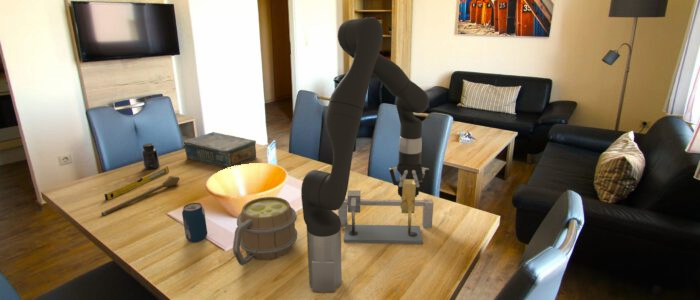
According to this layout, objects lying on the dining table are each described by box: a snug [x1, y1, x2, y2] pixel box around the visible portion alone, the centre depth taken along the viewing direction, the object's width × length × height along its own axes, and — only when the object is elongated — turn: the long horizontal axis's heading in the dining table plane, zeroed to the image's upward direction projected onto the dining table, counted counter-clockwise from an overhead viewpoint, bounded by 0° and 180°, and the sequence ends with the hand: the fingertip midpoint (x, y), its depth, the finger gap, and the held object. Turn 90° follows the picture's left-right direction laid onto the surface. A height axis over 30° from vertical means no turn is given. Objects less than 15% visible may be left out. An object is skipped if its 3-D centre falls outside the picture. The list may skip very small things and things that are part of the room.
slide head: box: [400, 178, 416, 234], centre depth 140 cm, size 11×4×15 cm, turn 177°
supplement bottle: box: [141, 142, 160, 171], centre depth 200 cm, size 7×7×12 cm
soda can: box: [181, 202, 208, 244], centre depth 137 cm, size 7×7×12 cm
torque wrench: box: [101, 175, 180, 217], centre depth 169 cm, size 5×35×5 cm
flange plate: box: [343, 224, 424, 245], centre depth 140 cm, size 10×26×1 cm, turn 87°
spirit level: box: [104, 166, 169, 201], centre depth 182 cm, size 33×1×3 cm, turn 159°
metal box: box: [183, 131, 257, 169], centre depth 214 cm, size 21×32×10 cm, turn 59°
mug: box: [232, 196, 298, 266], centre depth 128 cm, size 19×25×15 cm
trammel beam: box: [337, 189, 434, 233], centre depth 141 cm, size 11×33×12 cm, turn 87°
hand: (408, 195), depth 142 cm, fingers closed on slide head, 4 cm apart
